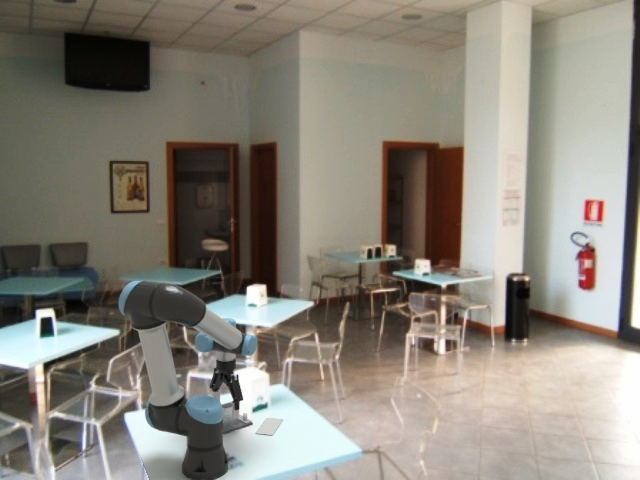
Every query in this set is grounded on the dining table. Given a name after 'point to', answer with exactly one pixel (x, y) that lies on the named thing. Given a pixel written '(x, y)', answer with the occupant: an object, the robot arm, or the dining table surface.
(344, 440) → the dining table surface
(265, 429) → the smartphone
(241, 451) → the dining table surface
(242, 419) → the grey knobbed plate
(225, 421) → the block
